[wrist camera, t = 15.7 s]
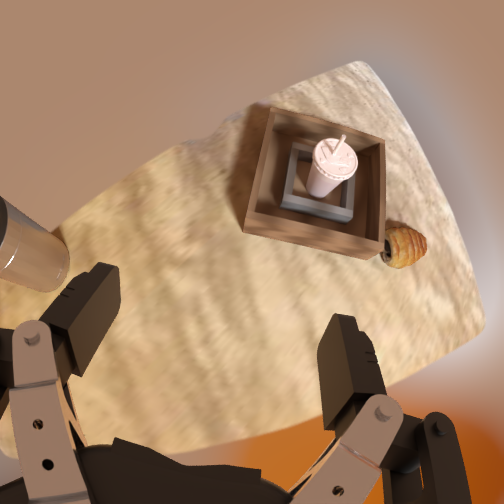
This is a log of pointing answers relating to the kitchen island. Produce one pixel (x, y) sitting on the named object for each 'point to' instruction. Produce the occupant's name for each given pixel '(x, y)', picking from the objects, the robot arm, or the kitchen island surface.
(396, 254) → the pastry
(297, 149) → the crate
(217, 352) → the kitchen island surface
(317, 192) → the smoothie
